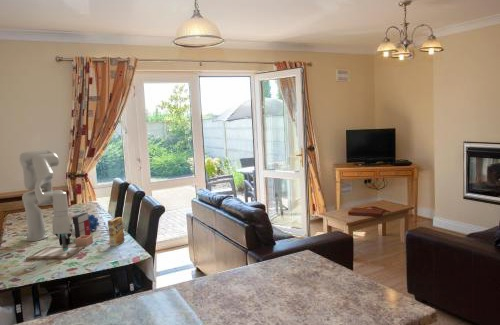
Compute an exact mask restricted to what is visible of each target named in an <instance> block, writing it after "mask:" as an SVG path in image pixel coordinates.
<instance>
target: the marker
mask: <svg viewBox="0 0 500 325" xmlns="http://www.w3.org/2000/svg"><path fill="white" fill-rule="evenodd" d="M61 239H62V245H61V247H62V248H63V250H68V247H69V245H66V242H65V239H66V235H65V234H61Z"/></svg>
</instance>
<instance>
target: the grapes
mask: <svg viewBox="0 0 500 325" xmlns="http://www.w3.org/2000/svg"><path fill="white" fill-rule="evenodd" d="M88 220H89V226H90V232H92V231H93V230H95V231H96V230H97V229H98V226H100V223H99V218H98V217H96V216H95V214H91V215H90V214H89V213H88Z"/></svg>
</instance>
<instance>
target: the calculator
mask: <svg viewBox="0 0 500 325" xmlns="http://www.w3.org/2000/svg"><path fill="white" fill-rule="evenodd" d="M88 214H89V213H87V212H82V213H80V214H77V215H75V216H72V224H73V230H74V231H75V233H74V235H75V239H76V238H78V237H80V236H86V235H91V231H90V226H89V220H88Z"/></svg>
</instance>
